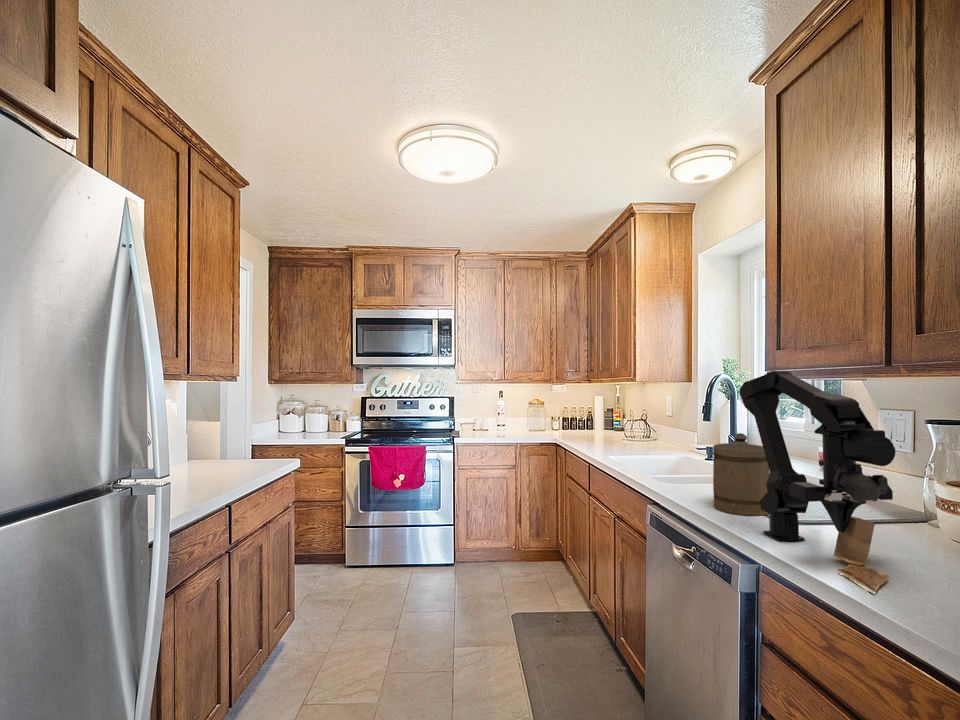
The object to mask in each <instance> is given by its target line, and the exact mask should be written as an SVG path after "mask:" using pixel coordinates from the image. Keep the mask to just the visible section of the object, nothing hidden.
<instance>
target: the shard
mask: <svg viewBox="0 0 960 720" xmlns="http://www.w3.org/2000/svg"><path fill="white" fill-rule="evenodd" d="M837 572H840V573H842V574H844V575H845V576H847V577H849V578H851V579H852V580H854V581H856V582H857V583H859V584H861V585H863V586H865V587H867V588H869V589H870V590H872V591H874V592H876V590H877V588H878V587H879V586H880V585H881V586H882V585H884V583H886V582H887V580H889V579H890V574H889V575H888V574H886V573H884V572H882V571H880V570H877V569H874V568H870V567H867V566H862V565H857V564H852V563H849V564H848V565H847V566H845V567H843V568H838V569H837ZM888 578H889V579H888ZM885 581H886V582H885ZM881 586H880V587H881ZM880 587H879V588H880ZM877 591H878V590H877ZM876 593H877V592H876Z"/></svg>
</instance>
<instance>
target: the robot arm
mask: <svg viewBox="0 0 960 720" xmlns="http://www.w3.org/2000/svg"><path fill="white" fill-rule="evenodd" d="M782 394H785V395H787V396H788V397H790V398H791V399H793V400H794V401H796V402H798V403H800V404H802V405H803V406H805V407H806V408H807V409H809V413H810V415H811V416H812V417H813V418H814V419H816V421H817V422H818V423H820V424H821V425H819V426H818V427H817V428H816V429H815V430H814V434H816V435H817V434H818V435H822V437H821V438H822V459H820V460H818V466H822V469H823V470H822V472H823V473H822V475H823V477H822V479H821V478H820V479H818V481H819V482H818V483H819V485H818V484H815V483H811V482H809V481H808V480H807V477H806V476H805V474H803V473H802V474H801V473H800V474H799V473H797V471H796V470H795V469H794V467H793V465H792V462H791V458H790V456H789V455H790V454H789V452H788V449H787V446H786V445H787V444H786V441H785V438H784V435H783V432H782V428H781V425H780V421H779V418H778V415H777V409H778V407H779V403H780V397H779V396H781V395H782ZM739 396H740V399H741V401H742V403H743V406H744V408H745V409H746V410H747V411H749V413H750V414H752V415H753V416H754V420H755V424H756V427H757V431H758V435H759V437H760V442H761V446H763V449H764V452H765V456H766V459H767V463H768V466H769V477H768V480H767V483H766V486H767V493H766V494H765V495H764V496H763V498H762V499H761V500H760V501H759V503H760V507H761V510H763V511H765V512H768V513H769V514H768V521H769V522H768V523H769V530H764V531H763V534H765V535H767V536H768V537H771V538H772V539H773V540H776V541H778V542H796V541H800V542H801V541H805V540H806V539H805V537H803V536H801V535H800V534H799V533H800V530H799V529H800V528H799V527H800V525H799V524H800V523H799V515H798V514H807V509H808V506H809V503H811V502H820V503H821V504H822V506H823V507H824V509H825V510H826V512H827V513H828V515H829V518H830V520H831V521H832V524H833V525H834V527H835V529H836V531H837V533H838V532H845V530H846V528H847V525H848V523H849V521H850V518H851V516H852V515H853V513H854V512H855V510H856V509H857V508H858V507H860V506H861V505H865V504H867V501H872V502H877V501H878V500H879V501H884V500H885V501H889V500H893V499H894V495H893V489H892V488H891V487H890V485H889V483H888V477H886V476H885V475H883V474H873V475H866V474H864V473H863V467H862V466H861V464H859V463H864V464H869V465H874V466H879V467H886V466H889V465H890V464H891V463H892V462H893V460H894V459H895V457H896V447H894V446H895V445H894V444H893V442H892V440H891V439H890V438H888V437H886V431H885V430H881V429H874V427H873V426H872V424H871V422H870V421H869V420H868V418H867V416H866V414H865V413H864V411H863V410H862V408H861V407H860V403H859V402H858V401H857V400H856V399H854V398H852V397H848V396H845V395H842V394H836V393H831V392H826V391H824V390H821V388H818V387H816V386H815V385H812V384H811V383H809V382H807V381H805V380H803V379H801V378H799V377H797V376H796V375H793V373H792V372H790V371H787V370H771V371H768V372H766V373H765V374H764V375H761V376H758V377H755V378H753V379H750V380H746V381H744V382H743V384H742V385H741V386H740V387H739ZM857 462H859V463H857ZM807 481H808V482H807ZM852 517H853V516H852Z"/></svg>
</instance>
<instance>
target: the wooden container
mask: <svg viewBox="0 0 960 720" xmlns="http://www.w3.org/2000/svg"><path fill="white" fill-rule="evenodd" d="M733 438H734V441H733V442H732V443H729V442H728V443H717V444H714V445H713V448H712V450H713V460H712V461H713V464H712V465H713V466H712V467H713V470H712V471H713V474H712V475H713V476H712V477H713V478H712V479H713V481H712V482H713V483H712V485H713V490H712V492H713V506H714V508H715V509H716V510H718V511H720V512H723V513H727V514H731V515H740V516H746V517H747V516H749V517H757V516H759V517H760V516H767V515H769V514H768V512H765V511H763V510H761V507H760V503H759V501H760V500H761V499H762V498H763V496H764V495H765V494H766V493H767V486H766V483H767V480H768V477H769V474H770V470H769V466H768V463H767V459H766V456H765V452H764V449H763V445H759V444H750V443H748V442H747V441H746V440H747V439H748V436H747V435H746V434H744V433H741V432H740V433H736V434H734V436H733Z"/></svg>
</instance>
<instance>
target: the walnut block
mask: <svg viewBox="0 0 960 720" xmlns="http://www.w3.org/2000/svg"><path fill="white" fill-rule="evenodd" d="M874 530H875V523H874V522H871V521H868V520H866V519H863V518H860V517H856V516H851V518H850V521H849V523H848V525H847V528H846V530H845V532H838V531H837V539H836V543H835V548H834V551H833V552H834V553H833V556H834V557H836V558H838V559H840V560H842V561H843V562H846V563H848V564H854V565H858V566H862V565H866V566H867V565H868V560H869V559H868V558H869V555H870V550H871V544H872V539H873V535H874Z"/></svg>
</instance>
